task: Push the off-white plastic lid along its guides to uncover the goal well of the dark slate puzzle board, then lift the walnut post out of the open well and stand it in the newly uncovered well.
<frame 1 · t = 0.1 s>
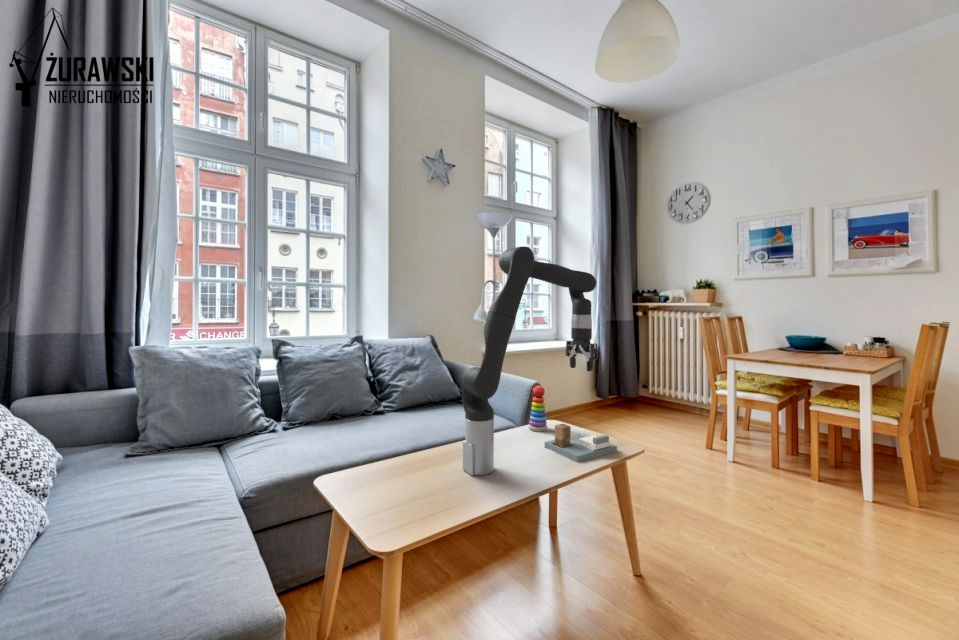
hand: (581, 369, 156), 29 cm above the table, fingers open, 8 cm apart
puzzle board: (580, 449, 153), on the table
walnut post: (562, 449, 152), resting in puzzle board
lid: (594, 439, 151), point 4 cm above the table, slide at 0.0 cm
stacking toy: (538, 429, 177), on the table
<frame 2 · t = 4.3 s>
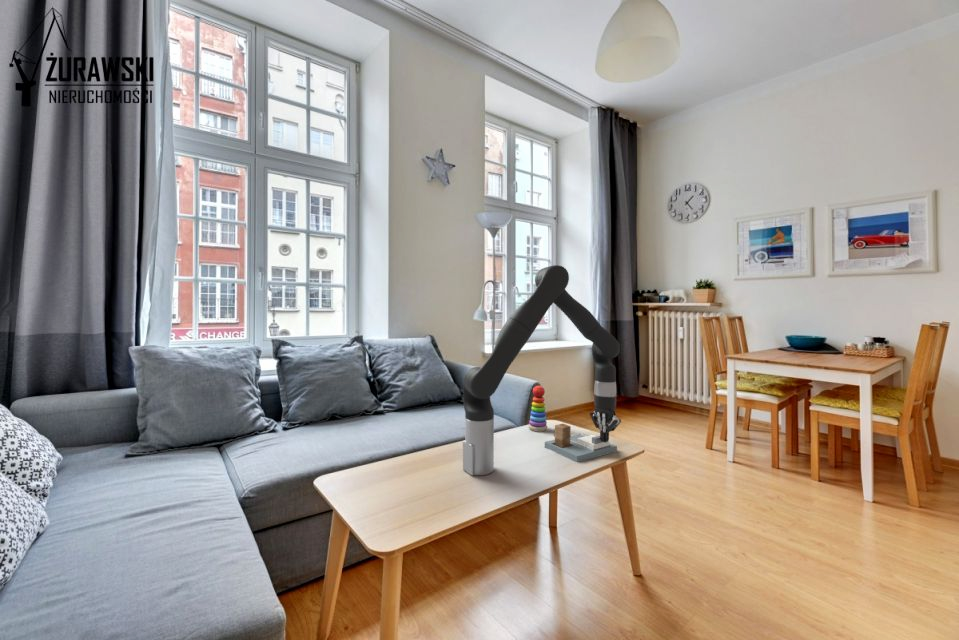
hand: (604, 441, 146), 5 cm above the table, fingers closed
lid: (593, 439, 151), point 4 cm above the table, slide at 0.6 cm, touching gripper
everything else where it was.
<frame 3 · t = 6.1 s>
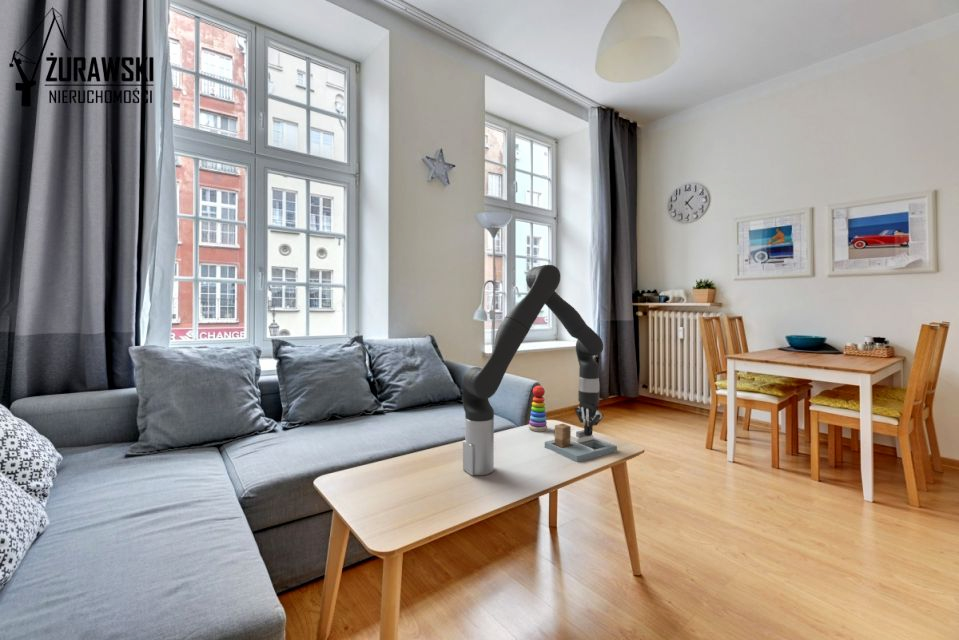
hand: (588, 435, 153), 5 cm above the table, fingers closed
lid: (577, 433, 158), point 4 cm above the table, slide at 8.3 cm, touching gripper
everything else where it was.
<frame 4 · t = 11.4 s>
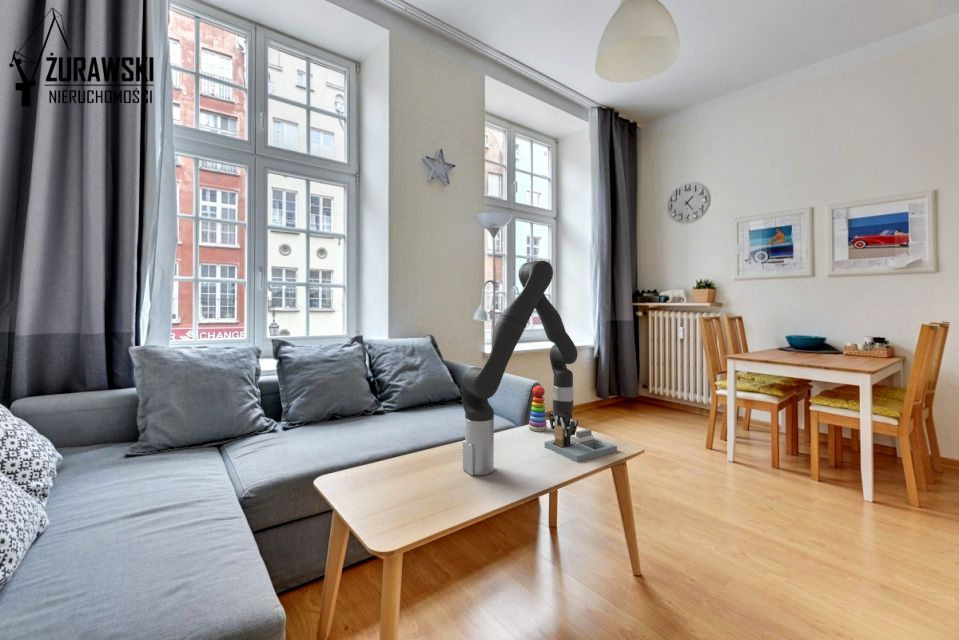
hand: (562, 443, 152), 2 cm above the table, fingers closed on walnut post, 4 cm apart
walnut post: (562, 449, 152), resting in puzzle board, touching gripper
lid: (577, 433, 158), point 4 cm above the table, slide at 8.4 cm
everything else where it was.
when the fingers open (4 cm above the table, at t = 16.8 s): walnut post drops 1 cm, resting in puzzle board.
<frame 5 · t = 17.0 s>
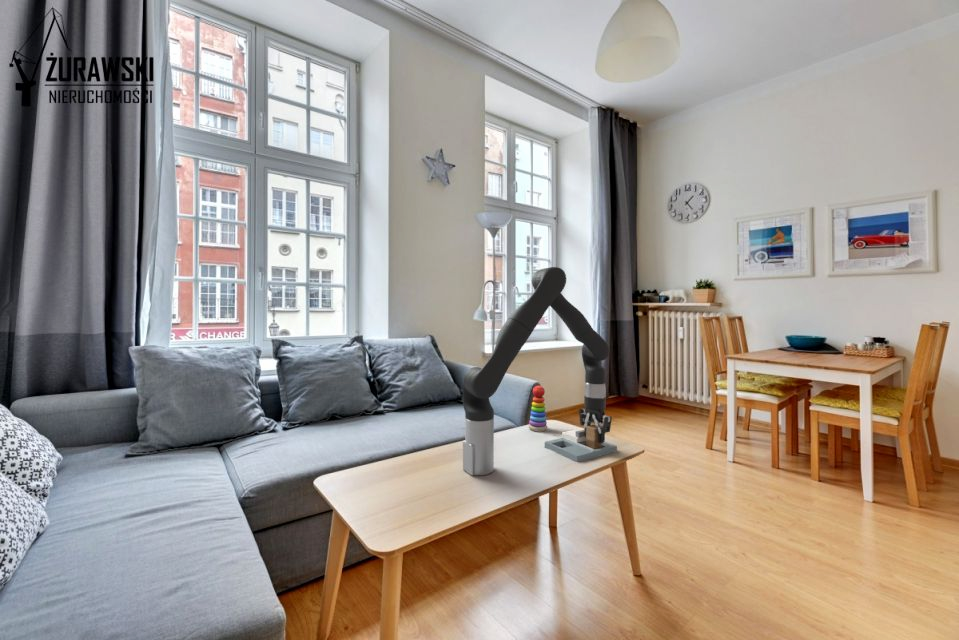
hand: (594, 440, 151), 4 cm above the table, fingers open, 6 cm apart
walnut post: (594, 451, 151), resting in puzzle board
lid: (577, 433, 158), point 4 cm above the table, slide at 8.7 cm, touching gripper
everything else where it was.
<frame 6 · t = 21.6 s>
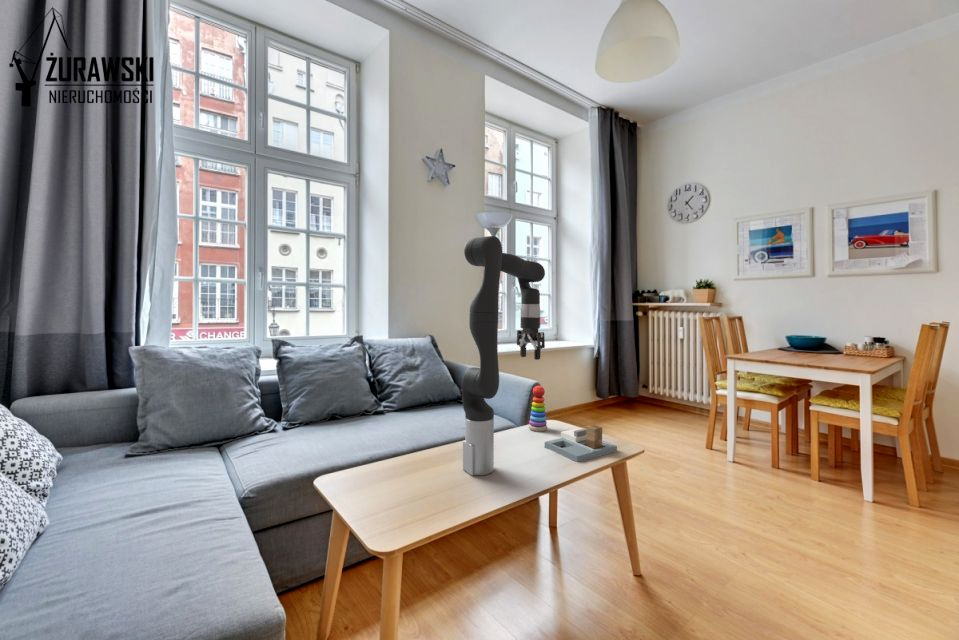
hand: (530, 358, 158), 33 cm above the table, fingers open, 8 cm apart
lid: (575, 432, 159), point 4 cm above the table, slide at 9.4 cm
everything else where it was.
at the end: walnut post 0.0 cm from the target spot, resting in puzzle board; walnut post tilted 0°; lid slide at 9.4 cm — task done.
